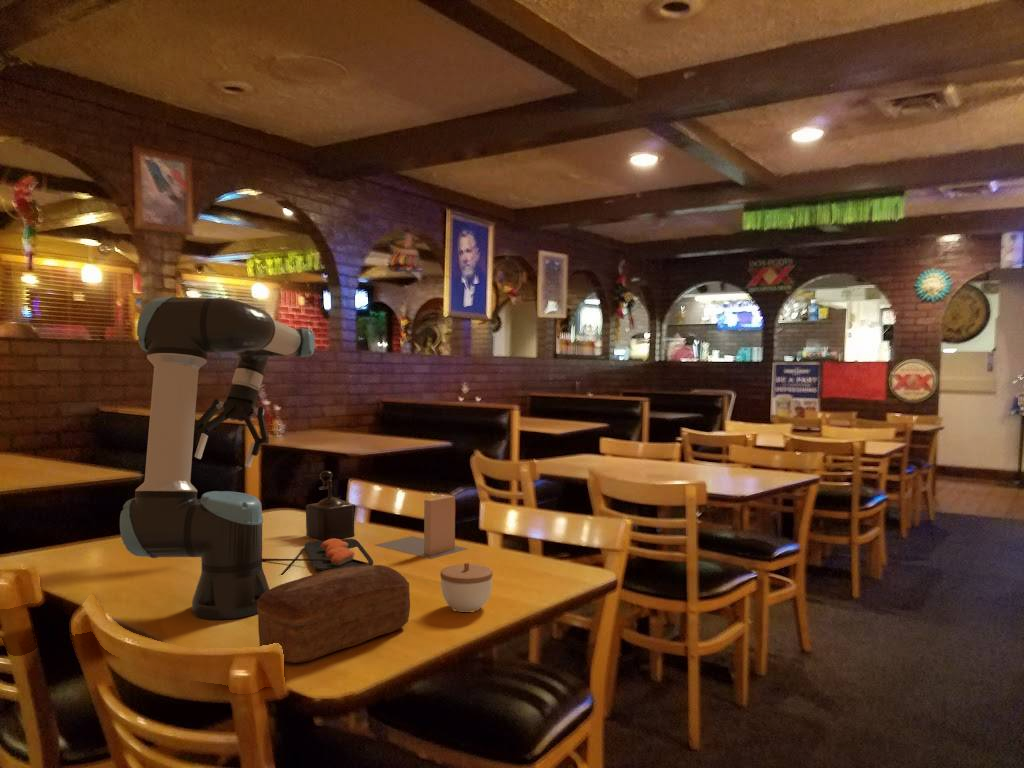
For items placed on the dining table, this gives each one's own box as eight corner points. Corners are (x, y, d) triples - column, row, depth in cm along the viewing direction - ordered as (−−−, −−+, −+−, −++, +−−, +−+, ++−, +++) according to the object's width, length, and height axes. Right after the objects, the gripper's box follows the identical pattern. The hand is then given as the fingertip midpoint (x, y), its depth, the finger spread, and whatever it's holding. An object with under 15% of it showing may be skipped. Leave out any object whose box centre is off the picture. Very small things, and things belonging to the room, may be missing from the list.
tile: (454, 548, 198) (455, 496, 197) (430, 555, 191) (430, 501, 191) (448, 547, 199) (448, 495, 199) (424, 553, 192) (424, 499, 192)
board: (468, 552, 198) (468, 548, 198) (431, 562, 187) (431, 558, 187) (412, 539, 212) (412, 536, 212) (374, 548, 201) (374, 544, 201)
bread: (245, 653, 128) (245, 583, 128) (373, 612, 150) (373, 552, 149) (290, 675, 119) (290, 599, 119) (420, 628, 141) (420, 564, 140)
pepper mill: (357, 536, 216) (357, 474, 215) (324, 542, 208) (324, 478, 208) (328, 527, 227) (328, 469, 226) (296, 533, 219) (296, 472, 218)
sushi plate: (376, 571, 181) (376, 556, 181) (246, 584, 170) (246, 567, 170) (355, 544, 208) (355, 531, 208) (242, 553, 197) (242, 539, 197)
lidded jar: (465, 596, 160) (465, 553, 160) (502, 607, 153) (503, 562, 153) (429, 609, 152) (429, 563, 151) (467, 620, 145) (468, 573, 145)
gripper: (292, 399, 206) (272, 473, 200) (206, 384, 207) (182, 457, 200) (285, 391, 199) (264, 467, 193) (195, 375, 200) (171, 451, 193)
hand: (222, 462), depth 196 cm, fingers open, 13 cm apart
